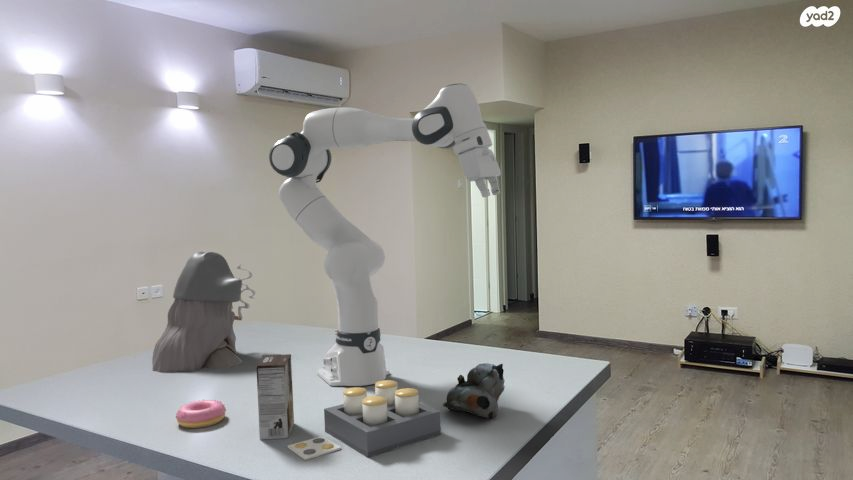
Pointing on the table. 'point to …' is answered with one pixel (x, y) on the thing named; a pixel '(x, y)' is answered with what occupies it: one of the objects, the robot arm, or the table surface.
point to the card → (314, 447)
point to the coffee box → (275, 396)
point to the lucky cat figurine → (478, 391)
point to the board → (382, 429)
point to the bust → (201, 317)
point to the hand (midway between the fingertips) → (492, 195)
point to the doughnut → (200, 413)
